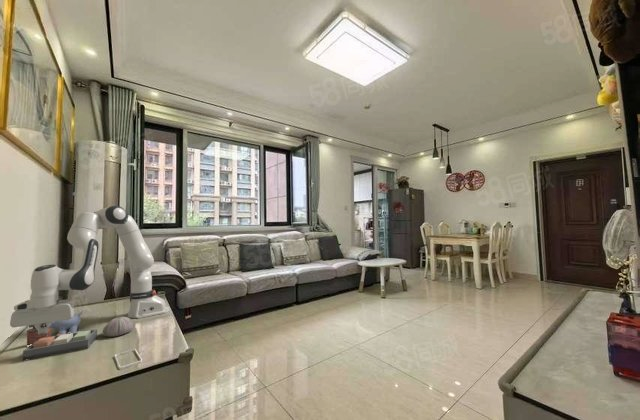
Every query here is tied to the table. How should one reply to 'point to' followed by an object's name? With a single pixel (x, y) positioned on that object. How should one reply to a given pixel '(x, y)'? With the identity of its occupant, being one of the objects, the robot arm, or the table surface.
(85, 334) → the sage key
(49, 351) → the grey tray
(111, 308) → the table surface
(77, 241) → the robot arm
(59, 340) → the cream key
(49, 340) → the terracotta key
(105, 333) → the sea urchin shell
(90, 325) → the table surface
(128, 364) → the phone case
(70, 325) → the hippopotamus toy
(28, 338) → the lighter
